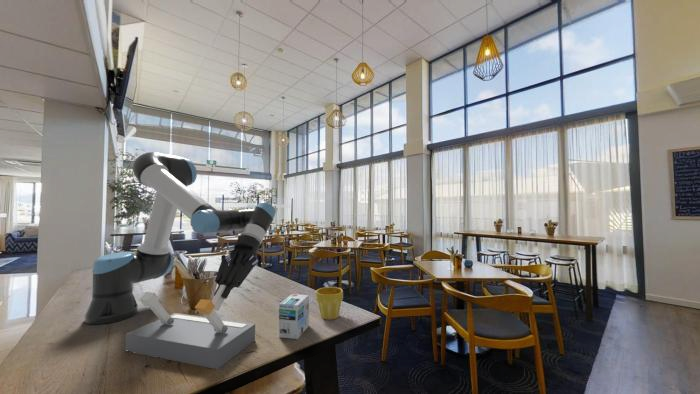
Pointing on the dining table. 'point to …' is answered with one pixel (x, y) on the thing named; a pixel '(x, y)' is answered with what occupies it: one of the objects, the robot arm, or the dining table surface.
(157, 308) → the breaker on
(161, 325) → the box
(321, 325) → the dining table surface
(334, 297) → the plant pot
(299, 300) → the light bulb box
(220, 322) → the breaker
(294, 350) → the dining table surface
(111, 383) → the dining table surface
